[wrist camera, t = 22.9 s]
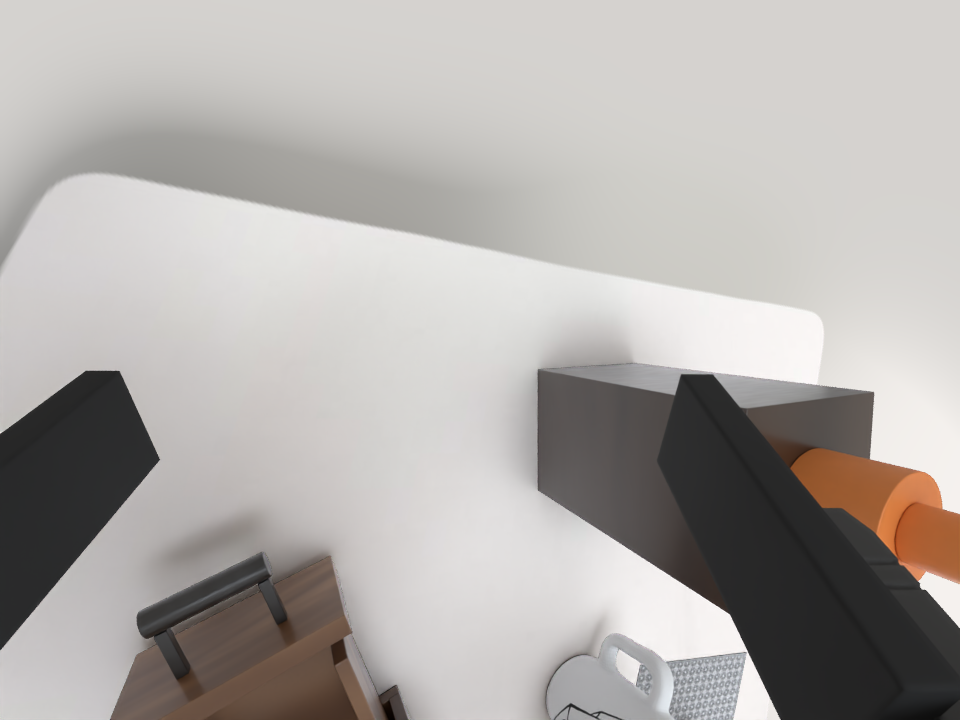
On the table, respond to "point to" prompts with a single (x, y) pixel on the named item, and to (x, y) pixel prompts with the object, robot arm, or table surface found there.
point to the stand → (638, 437)
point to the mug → (610, 686)
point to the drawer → (252, 652)
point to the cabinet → (394, 705)
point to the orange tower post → (888, 507)
